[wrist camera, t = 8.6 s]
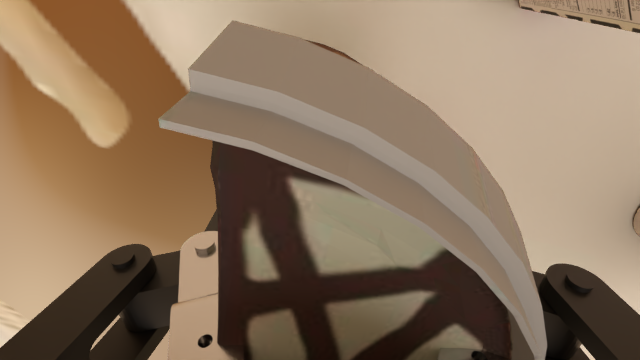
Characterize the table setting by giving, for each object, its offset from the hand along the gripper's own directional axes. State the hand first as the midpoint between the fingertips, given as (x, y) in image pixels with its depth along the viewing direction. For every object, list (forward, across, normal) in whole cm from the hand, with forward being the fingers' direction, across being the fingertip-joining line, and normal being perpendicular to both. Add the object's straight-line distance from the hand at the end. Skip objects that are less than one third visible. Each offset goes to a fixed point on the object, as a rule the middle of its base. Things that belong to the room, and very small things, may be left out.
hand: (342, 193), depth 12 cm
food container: (+2, -1, 0) cm, 2 cm away
